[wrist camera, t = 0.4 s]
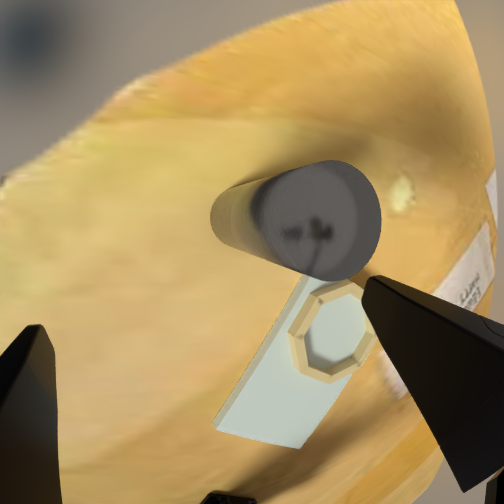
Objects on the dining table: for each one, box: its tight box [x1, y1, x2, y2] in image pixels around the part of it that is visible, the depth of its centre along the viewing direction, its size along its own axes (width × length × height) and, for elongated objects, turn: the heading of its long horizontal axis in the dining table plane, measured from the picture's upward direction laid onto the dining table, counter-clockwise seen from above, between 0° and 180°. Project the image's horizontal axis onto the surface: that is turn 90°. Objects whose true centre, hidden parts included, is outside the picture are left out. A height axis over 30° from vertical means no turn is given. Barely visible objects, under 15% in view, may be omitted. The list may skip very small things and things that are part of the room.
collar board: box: [213, 274, 378, 449], centre depth 25 cm, size 17×10×2 cm, turn 147°
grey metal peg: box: [210, 160, 381, 282], centre depth 17 cm, size 5×5×12 cm
